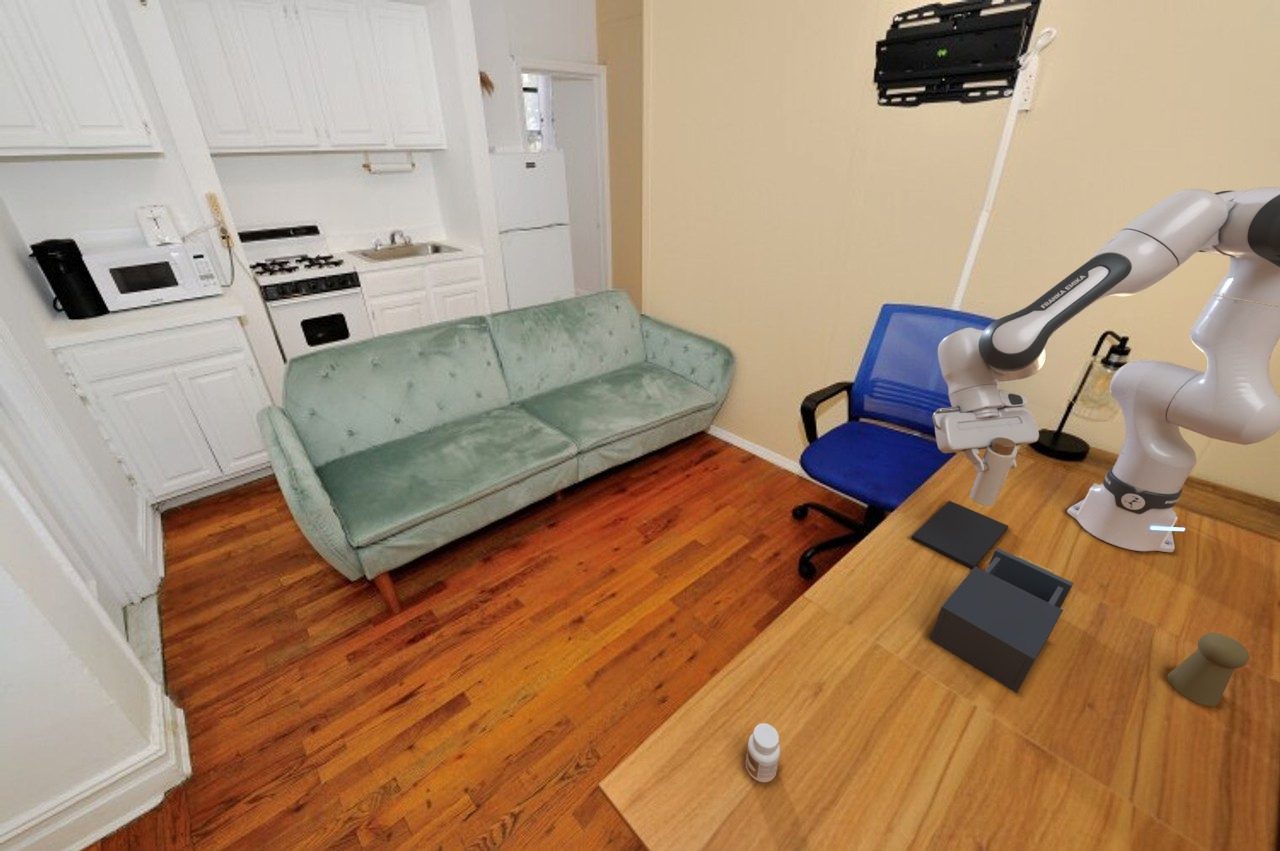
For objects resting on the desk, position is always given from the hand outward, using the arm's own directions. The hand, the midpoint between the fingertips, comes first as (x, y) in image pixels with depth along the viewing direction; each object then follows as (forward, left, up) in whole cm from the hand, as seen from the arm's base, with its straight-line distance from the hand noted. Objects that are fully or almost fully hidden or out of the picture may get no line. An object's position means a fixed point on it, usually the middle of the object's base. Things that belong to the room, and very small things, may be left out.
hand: (997, 469), depth 101 cm
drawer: (+9, +12, -20) cm, 25 cm away
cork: (+7, +37, -22) cm, 43 cm away
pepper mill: (0, -1, -8) cm, 8 cm away
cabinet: (+22, +12, -21) cm, 33 cm away
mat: (-5, -3, -21) cm, 22 cm away
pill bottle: (+70, -1, -22) cm, 73 cm away
